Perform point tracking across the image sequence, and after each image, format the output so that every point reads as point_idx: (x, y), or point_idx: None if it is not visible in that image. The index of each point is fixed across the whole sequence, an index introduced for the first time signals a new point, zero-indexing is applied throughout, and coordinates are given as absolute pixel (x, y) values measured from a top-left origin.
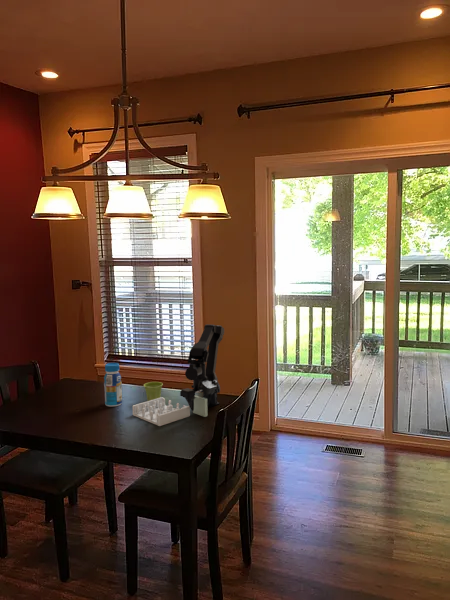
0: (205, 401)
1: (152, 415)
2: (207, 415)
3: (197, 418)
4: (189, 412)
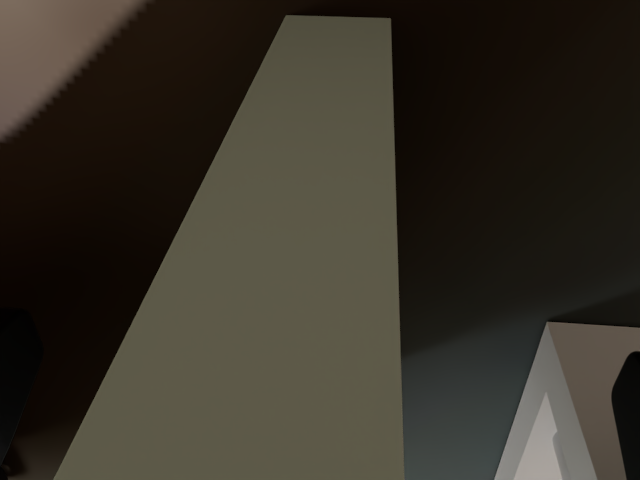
0: (307, 387)
1: None
2: (285, 22)
3: (607, 97)
4: (578, 385)
